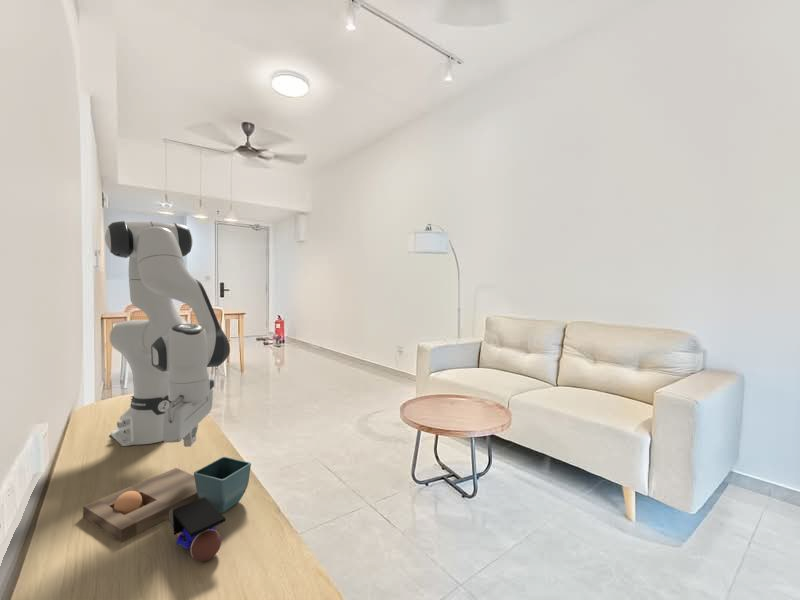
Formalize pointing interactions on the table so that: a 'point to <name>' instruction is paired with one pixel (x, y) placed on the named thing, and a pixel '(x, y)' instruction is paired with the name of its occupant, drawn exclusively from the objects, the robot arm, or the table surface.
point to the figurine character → (197, 528)
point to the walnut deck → (156, 496)
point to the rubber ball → (128, 502)
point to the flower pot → (223, 482)
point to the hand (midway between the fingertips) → (190, 444)
